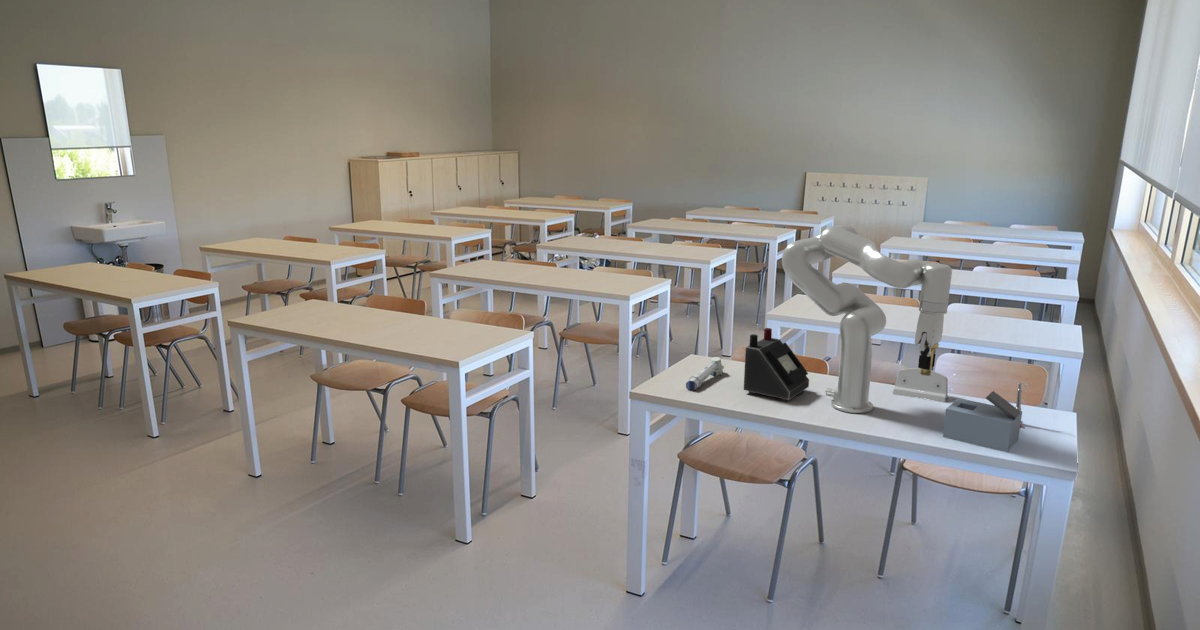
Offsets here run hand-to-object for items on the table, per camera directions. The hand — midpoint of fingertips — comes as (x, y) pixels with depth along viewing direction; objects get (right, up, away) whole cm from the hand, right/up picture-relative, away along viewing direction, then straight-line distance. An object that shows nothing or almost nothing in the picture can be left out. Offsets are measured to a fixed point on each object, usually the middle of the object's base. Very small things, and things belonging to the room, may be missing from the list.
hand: (926, 366), depth 227 cm
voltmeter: (-37, -11, +32) cm, 50 cm away
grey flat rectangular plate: (+16, -10, -12) cm, 23 cm away
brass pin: (0, -2, +1) cm, 2 cm away
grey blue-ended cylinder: (-59, -8, +44) cm, 74 cm away
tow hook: (+26, -17, +6) cm, 31 cm away
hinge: (+11, -12, +30) cm, 34 cm away
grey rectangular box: (+13, -20, -7) cm, 25 cm away
